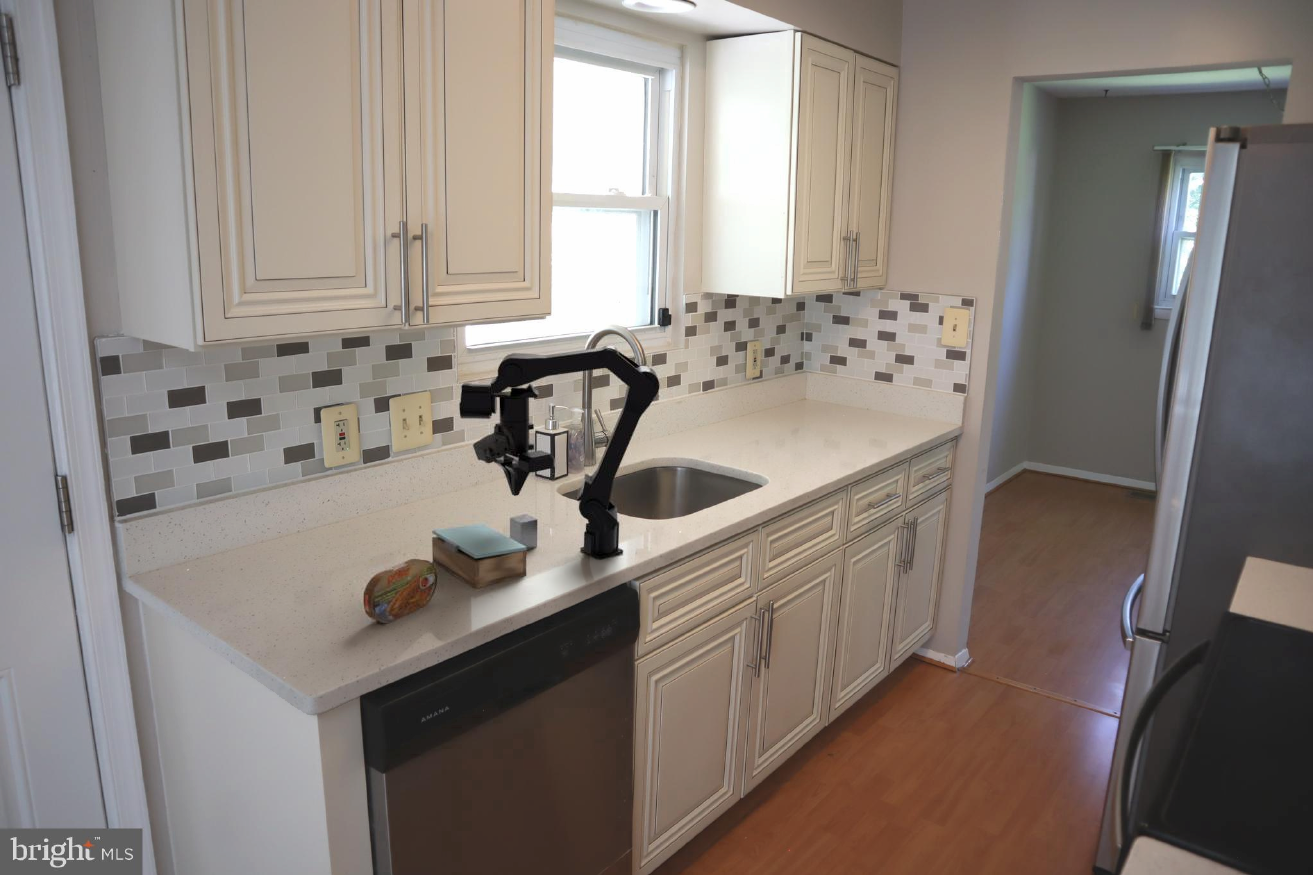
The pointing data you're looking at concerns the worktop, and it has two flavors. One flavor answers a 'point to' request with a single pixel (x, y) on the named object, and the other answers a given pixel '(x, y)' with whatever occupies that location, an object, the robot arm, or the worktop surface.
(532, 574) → the worktop surface
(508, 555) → the box
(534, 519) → the block
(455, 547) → the lid
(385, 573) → the tin
